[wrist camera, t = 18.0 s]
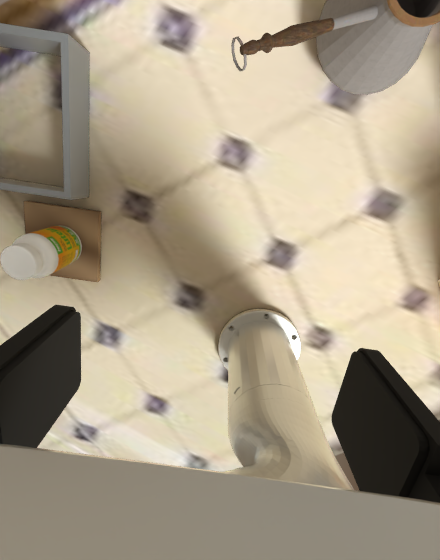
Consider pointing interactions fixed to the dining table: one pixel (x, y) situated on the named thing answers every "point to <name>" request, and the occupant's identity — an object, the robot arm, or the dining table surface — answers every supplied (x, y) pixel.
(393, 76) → the coffee pot
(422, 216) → the dining table surface
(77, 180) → the bin
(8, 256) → the supplement bottle
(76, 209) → the walnut board
